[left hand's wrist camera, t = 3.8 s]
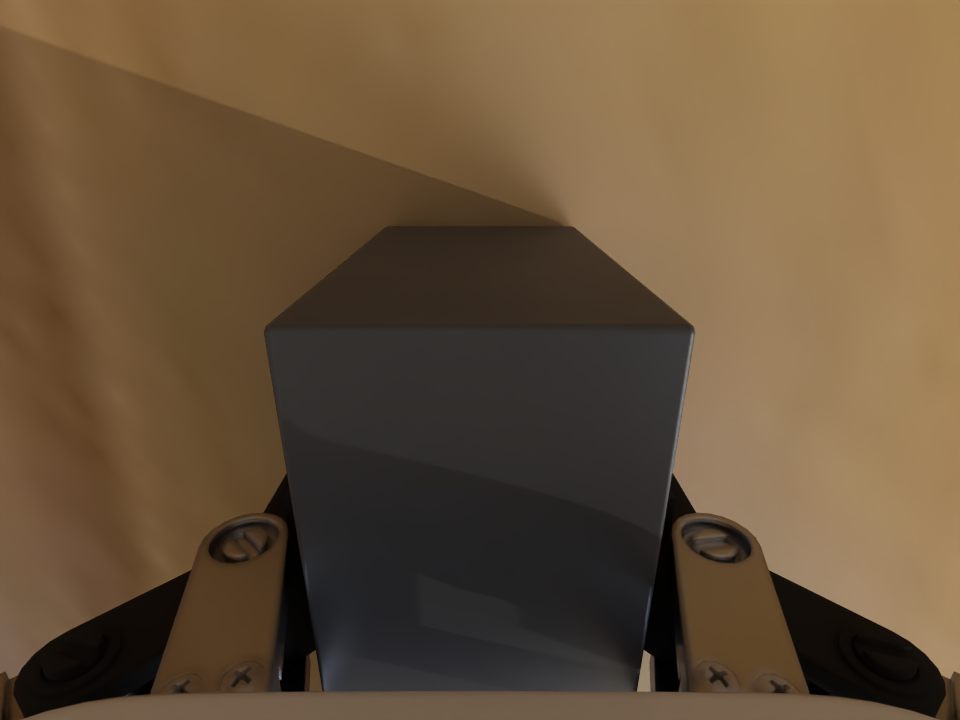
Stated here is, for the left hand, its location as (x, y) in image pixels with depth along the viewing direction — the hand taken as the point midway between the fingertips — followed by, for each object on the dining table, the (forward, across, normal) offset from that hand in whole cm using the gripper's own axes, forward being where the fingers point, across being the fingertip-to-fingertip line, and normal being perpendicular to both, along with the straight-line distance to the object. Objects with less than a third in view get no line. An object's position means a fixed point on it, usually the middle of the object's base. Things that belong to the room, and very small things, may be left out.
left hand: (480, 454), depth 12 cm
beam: (+3, 0, -32) cm, 32 cm away
